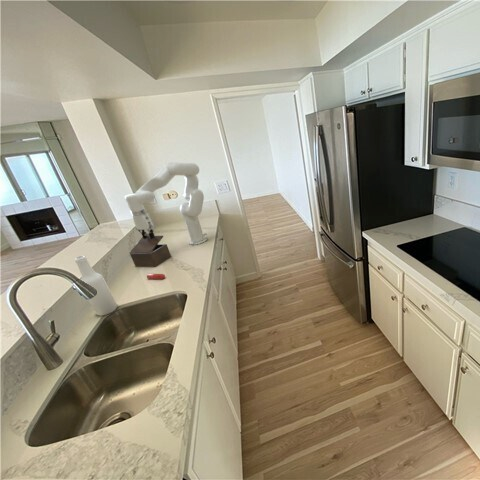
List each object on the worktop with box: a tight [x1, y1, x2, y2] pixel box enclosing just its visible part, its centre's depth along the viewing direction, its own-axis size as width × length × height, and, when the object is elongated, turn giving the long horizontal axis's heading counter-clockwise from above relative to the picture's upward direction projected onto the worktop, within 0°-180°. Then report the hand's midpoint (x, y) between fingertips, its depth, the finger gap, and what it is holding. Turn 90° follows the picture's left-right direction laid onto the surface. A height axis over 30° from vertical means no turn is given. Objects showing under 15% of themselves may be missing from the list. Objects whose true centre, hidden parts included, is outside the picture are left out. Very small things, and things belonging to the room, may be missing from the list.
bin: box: [129, 243, 172, 268], centre depth 181 cm, size 15×17×10 cm
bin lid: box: [129, 232, 164, 254], centre depth 176 cm, size 15×17×5 cm
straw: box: [146, 273, 166, 280], centre depth 158 cm, size 12×3×3 cm, turn 77°
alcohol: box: [74, 255, 118, 317], centre depth 126 cm, size 9×9×30 cm
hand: (149, 237), depth 179 cm, fingers closed on bin lid, 5 cm apart
